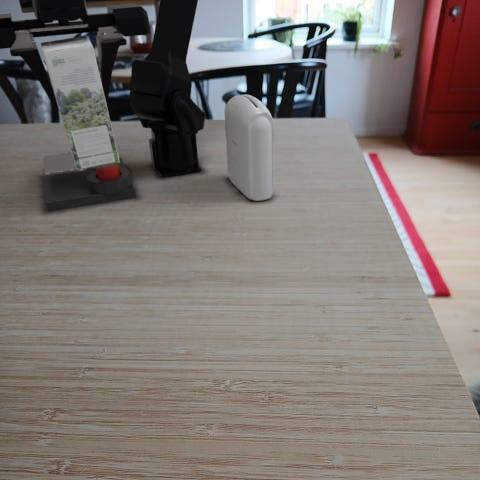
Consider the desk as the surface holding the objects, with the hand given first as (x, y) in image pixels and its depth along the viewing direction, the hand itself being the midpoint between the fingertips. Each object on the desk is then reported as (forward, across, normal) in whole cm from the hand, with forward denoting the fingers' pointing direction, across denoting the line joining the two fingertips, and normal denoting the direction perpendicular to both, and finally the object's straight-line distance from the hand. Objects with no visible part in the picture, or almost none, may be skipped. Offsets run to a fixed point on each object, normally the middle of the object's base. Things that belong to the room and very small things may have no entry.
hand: (81, 104), depth 64 cm
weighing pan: (+10, +3, -9) cm, 13 cm away
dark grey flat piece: (+13, +1, -6) cm, 14 cm away
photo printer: (+13, -20, +4) cm, 25 cm away
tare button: (+10, -2, -2) cm, 10 cm away
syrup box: (+8, 0, 0) cm, 8 cm away
